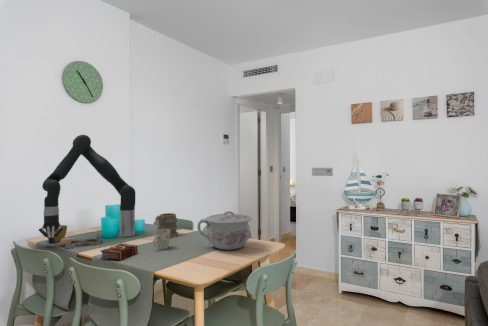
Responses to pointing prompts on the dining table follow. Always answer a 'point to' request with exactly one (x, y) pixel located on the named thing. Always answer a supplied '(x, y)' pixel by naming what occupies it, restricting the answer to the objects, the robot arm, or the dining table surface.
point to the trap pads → (73, 246)
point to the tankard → (168, 223)
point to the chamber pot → (227, 230)
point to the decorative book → (119, 252)
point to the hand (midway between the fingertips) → (51, 243)
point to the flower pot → (61, 234)
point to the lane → (99, 239)
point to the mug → (162, 238)
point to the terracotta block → (65, 241)
